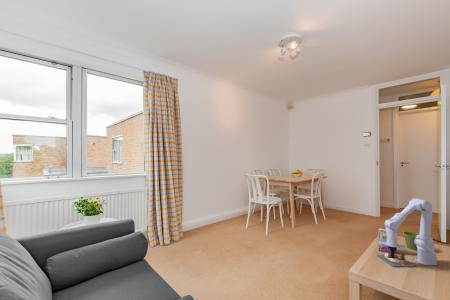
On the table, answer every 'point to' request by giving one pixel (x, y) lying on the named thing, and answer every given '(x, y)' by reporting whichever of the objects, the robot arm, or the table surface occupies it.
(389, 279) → the table surface
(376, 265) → the table surface
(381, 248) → the candy bar box
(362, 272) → the table surface
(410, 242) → the plant pot
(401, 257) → the capstan wheel
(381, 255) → the stand
